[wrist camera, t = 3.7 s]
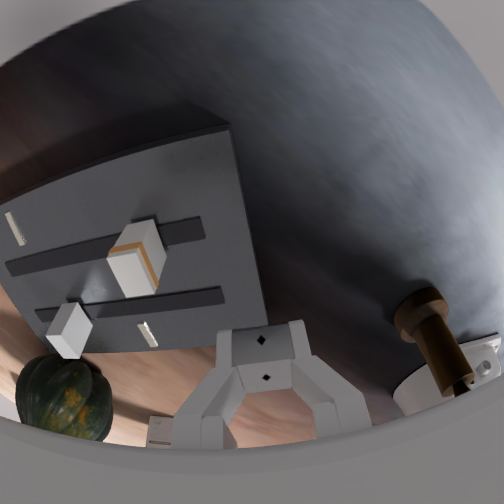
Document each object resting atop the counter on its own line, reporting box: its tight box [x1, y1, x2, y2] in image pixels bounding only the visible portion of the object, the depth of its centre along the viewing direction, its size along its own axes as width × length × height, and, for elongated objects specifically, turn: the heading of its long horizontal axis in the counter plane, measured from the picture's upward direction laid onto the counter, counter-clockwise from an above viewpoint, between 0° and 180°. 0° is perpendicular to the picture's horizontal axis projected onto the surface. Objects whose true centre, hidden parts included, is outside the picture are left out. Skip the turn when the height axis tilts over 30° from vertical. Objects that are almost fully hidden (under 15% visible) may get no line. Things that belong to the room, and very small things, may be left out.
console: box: [0, 123, 269, 353], centre depth 23 cm, size 26×18×3 cm
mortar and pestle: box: [394, 288, 475, 398], centre depth 22 cm, size 7×6×18 cm
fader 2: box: [106, 219, 167, 298], centre depth 18 cm, size 2×3×4 cm
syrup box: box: [146, 415, 174, 449], centre depth 37 cm, size 6×6×14 cm
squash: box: [15, 355, 113, 442], centre depth 29 cm, size 14×15×15 cm
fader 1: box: [45, 302, 93, 359], centre depth 22 cm, size 2×3×4 cm, turn 10°
